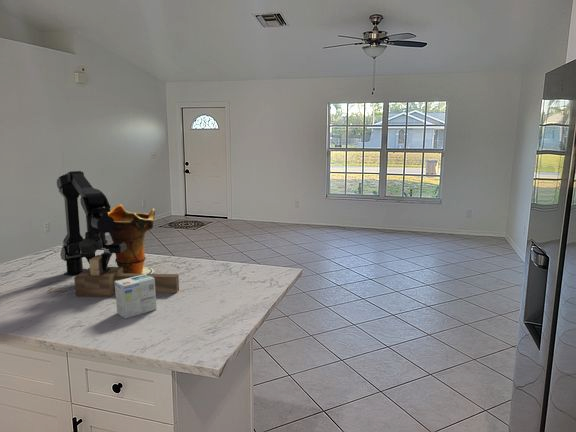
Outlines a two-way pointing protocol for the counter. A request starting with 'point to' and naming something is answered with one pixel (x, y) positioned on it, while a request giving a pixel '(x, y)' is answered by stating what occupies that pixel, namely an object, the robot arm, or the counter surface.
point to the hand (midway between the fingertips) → (99, 270)
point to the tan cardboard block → (97, 266)
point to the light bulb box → (135, 295)
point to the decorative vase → (131, 238)
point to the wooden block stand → (105, 283)
